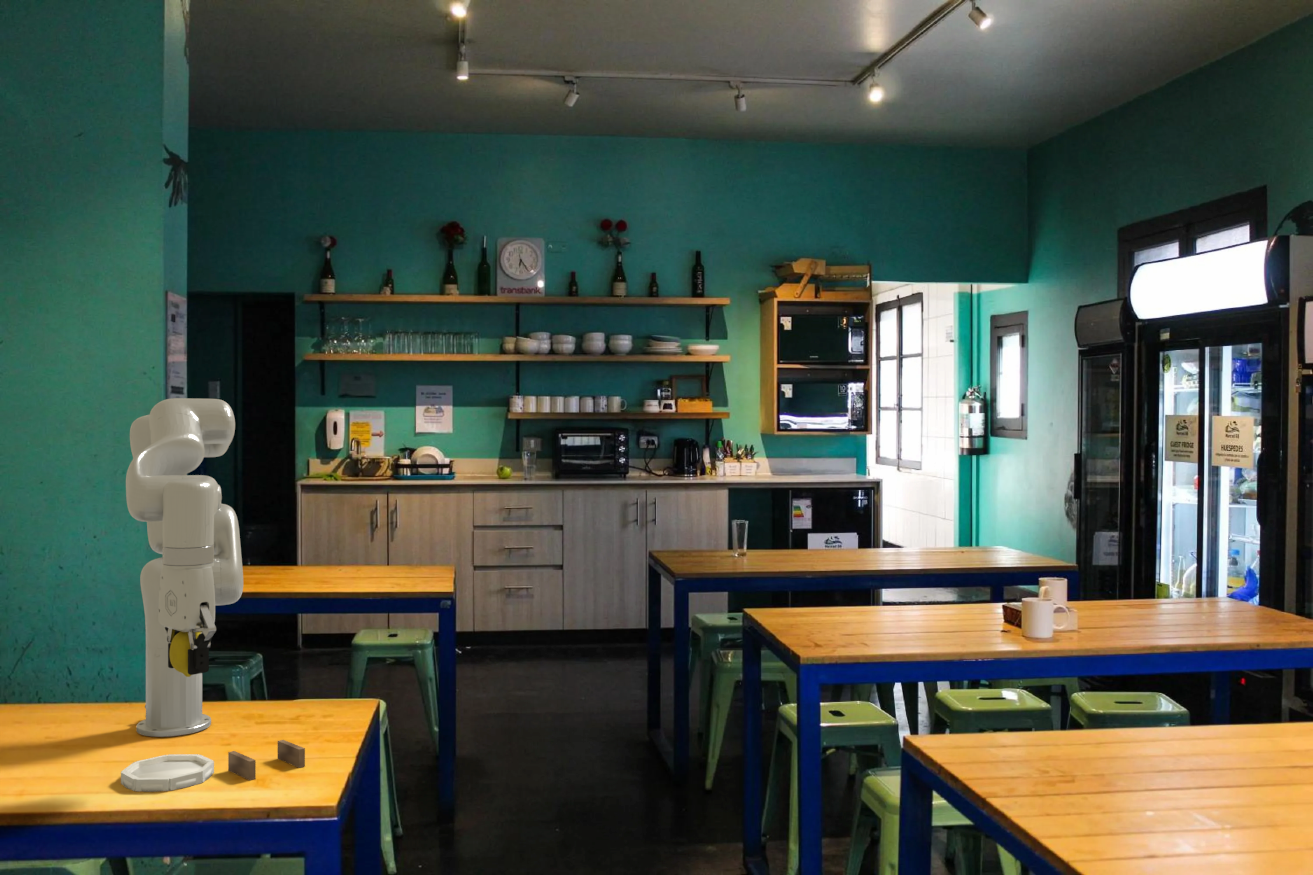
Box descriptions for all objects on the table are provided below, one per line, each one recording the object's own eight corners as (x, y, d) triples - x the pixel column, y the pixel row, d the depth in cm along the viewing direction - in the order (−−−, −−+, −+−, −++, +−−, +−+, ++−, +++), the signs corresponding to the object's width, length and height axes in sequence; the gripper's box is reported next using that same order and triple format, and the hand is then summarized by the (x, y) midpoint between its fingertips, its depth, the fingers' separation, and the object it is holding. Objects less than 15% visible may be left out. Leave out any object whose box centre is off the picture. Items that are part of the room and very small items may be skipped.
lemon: (194, 681, 172) (194, 631, 172) (162, 680, 173) (162, 629, 173) (214, 673, 178) (214, 624, 177) (182, 671, 178) (182, 623, 178)
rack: (228, 770, 178) (228, 752, 178) (283, 757, 185) (283, 739, 185) (249, 780, 173) (249, 761, 173) (304, 766, 180) (304, 748, 180)
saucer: (109, 778, 174) (108, 766, 174) (189, 759, 184) (190, 748, 184) (143, 797, 165) (143, 785, 165) (227, 777, 175) (227, 765, 175)
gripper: (139, 554, 177) (139, 665, 178) (192, 564, 166) (192, 683, 167) (184, 549, 183) (184, 657, 184) (238, 560, 172) (238, 674, 173)
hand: (188, 668), depth 175 cm, fingers closed on lemon, 5 cm apart
